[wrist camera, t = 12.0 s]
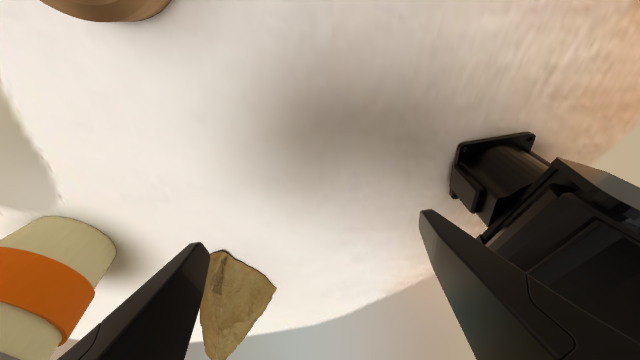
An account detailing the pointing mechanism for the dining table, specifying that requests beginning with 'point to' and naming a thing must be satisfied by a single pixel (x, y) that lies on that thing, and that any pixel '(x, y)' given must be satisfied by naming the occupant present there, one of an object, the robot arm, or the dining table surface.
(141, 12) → the pedestal
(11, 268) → the reusable coffee cup
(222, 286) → the rock
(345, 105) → the dining table surface
